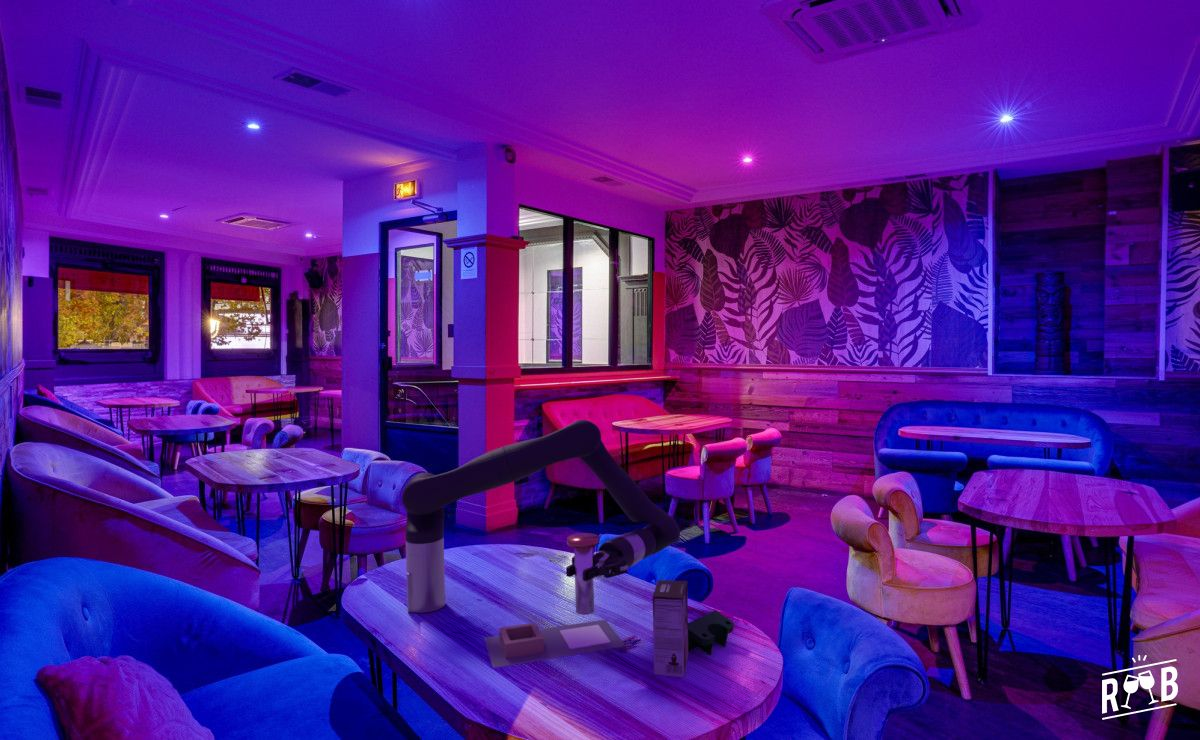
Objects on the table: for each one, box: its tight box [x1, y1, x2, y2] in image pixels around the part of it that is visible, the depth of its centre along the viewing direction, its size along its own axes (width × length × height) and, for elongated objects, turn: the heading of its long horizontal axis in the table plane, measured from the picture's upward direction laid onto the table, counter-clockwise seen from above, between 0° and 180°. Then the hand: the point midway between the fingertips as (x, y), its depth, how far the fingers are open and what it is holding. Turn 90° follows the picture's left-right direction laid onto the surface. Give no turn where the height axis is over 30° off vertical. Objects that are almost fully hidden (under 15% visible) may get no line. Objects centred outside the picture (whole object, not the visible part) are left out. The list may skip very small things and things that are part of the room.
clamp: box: [688, 609, 735, 656], centre depth 140 cm, size 12×6×9 cm, turn 127°
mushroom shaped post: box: [566, 532, 600, 616], centre depth 142 cm, size 7×7×16 cm
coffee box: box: [652, 579, 689, 678], centre depth 132 cm, size 9×6×16 cm
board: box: [483, 619, 627, 669], centre depth 141 cm, size 28×14×4 cm, turn 107°
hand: (576, 574), depth 140 cm, fingers closed on mushroom shaped post, 4 cm apart
